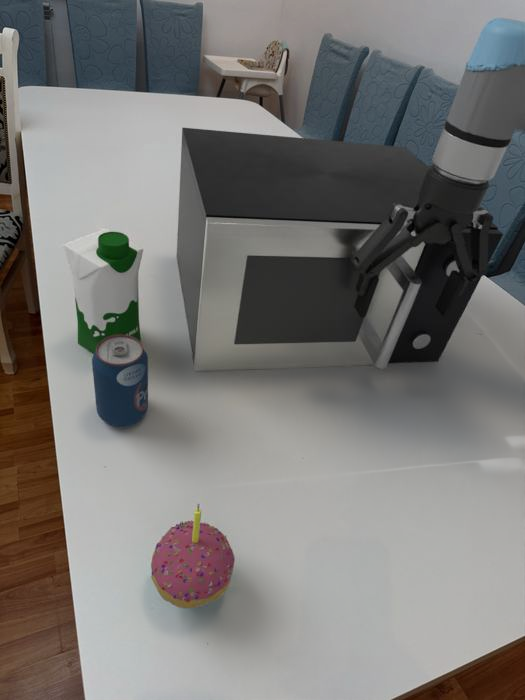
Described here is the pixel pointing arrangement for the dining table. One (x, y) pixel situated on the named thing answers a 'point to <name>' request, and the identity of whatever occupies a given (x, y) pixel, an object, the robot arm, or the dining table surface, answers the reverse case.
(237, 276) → the microwave door
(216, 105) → the dining table surface
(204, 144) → the microwave
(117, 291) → the milk carton
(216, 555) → the cupcake
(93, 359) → the soda can
